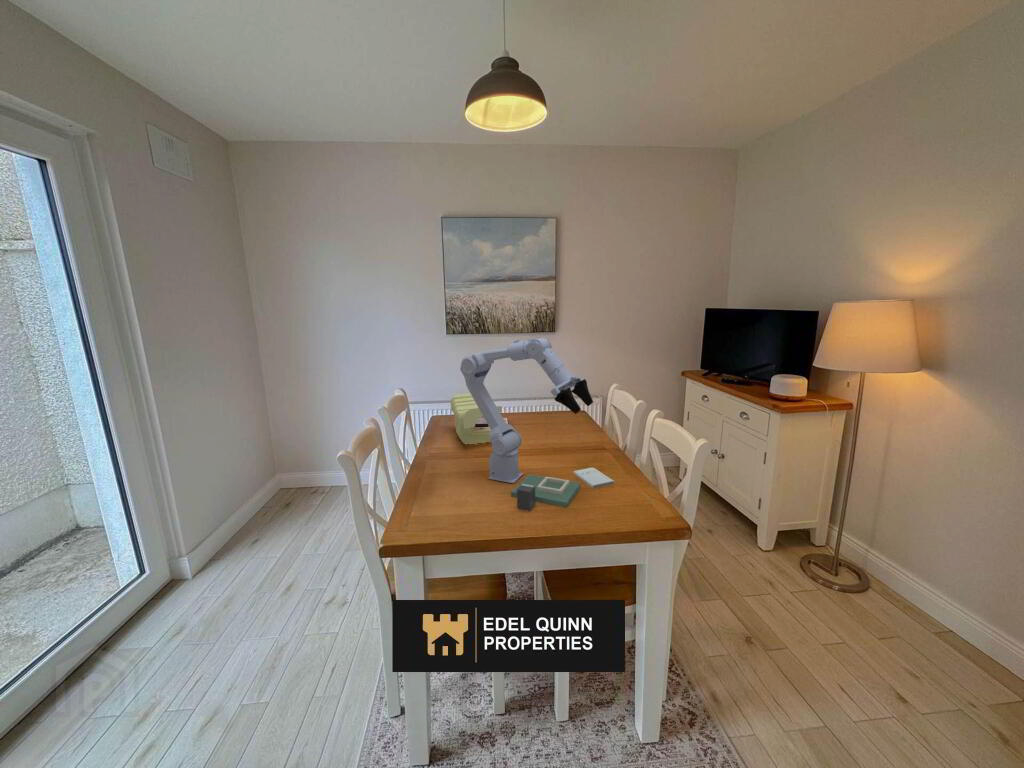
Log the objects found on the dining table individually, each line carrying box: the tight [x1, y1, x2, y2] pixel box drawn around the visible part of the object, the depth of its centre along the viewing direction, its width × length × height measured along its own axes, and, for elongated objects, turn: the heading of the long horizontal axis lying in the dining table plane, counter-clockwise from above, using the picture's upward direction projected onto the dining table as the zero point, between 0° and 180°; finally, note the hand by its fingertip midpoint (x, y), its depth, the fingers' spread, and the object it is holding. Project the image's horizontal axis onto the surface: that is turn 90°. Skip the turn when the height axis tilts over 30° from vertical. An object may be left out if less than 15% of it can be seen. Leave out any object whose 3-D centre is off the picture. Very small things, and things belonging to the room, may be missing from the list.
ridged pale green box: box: [450, 392, 503, 446], centre depth 176 cm, size 30×16×18 cm, turn 18°
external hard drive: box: [573, 467, 615, 489], centre depth 135 cm, size 2×8×12 cm
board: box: [510, 473, 582, 508], centre depth 126 cm, size 18×14×3 cm
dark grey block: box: [516, 484, 536, 512], centre depth 117 cm, size 4×4×6 cm
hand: (584, 408), depth 117 cm, fingers open, 7 cm apart
